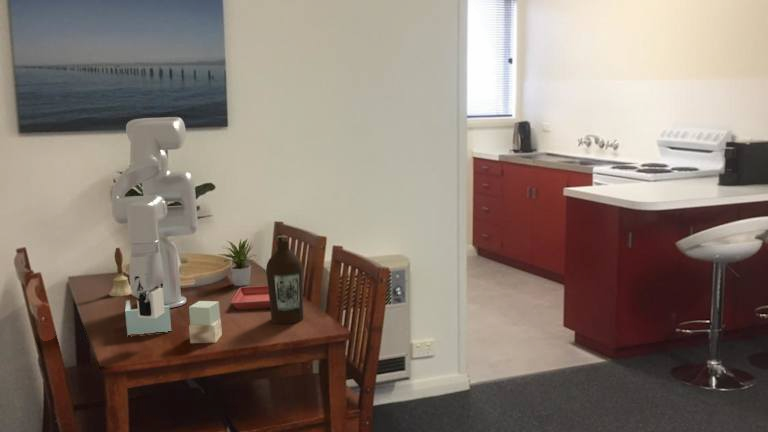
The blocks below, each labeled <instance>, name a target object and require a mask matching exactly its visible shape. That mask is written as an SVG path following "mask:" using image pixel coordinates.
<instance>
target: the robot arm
mask: <svg viewBox="0 0 768 432" xmlns="http://www.w3.org/2000/svg"><path fill="white" fill-rule="evenodd" d="M125 132H126V135H127V138H128V140H129V142H130V152H129V155H130V156H129V159H130V160H129V166H128V167H127V168H126V169H125V170H123V171H122V172H121V174H120V175H119V176H118V178H117V179H116V181H115V182H114V185H113V188H112V194H111V196H112V197H111V215H112V218H113V220H114V221H115V222H116V223H117V224H119V225H127V226H128V228H127V229H128V237H129V248H130V254H131V255H130V256H129V265H128V266H129V272H128V273H129V285H130V288H131V290H132V294H131V295H132V296H133V297H134V298H135V300H136V303H137V302H139V311H140V315H141V316H151V306H150V301H148V299H149V290H151V289H153V288H163V299H164V306H169V309H171V308H177V307H181V306H183V305H184V304H186V302H187V297H186V296H183V295H182V293H181V282H180V281H181V280H180V269H179V258H178V249H177V246H176V245H175V243H173V242H172V240H171V239H170V238H169V237H177V236H179V237H180V236H189V235H193V234H195V233H196V232H197V231H198V227H199V222H198V210H197V208H198V207H197V198H196V196H197V195H196V186H195V181H194V177H193V175H192V173H190V172H188V171H182V170H181V171H180V170H177V171H171V170H170V169H169V159H168V155H167V153H166V152H165V151H167V150H168V151H169V150H180V149H181V148H182V147H183V145H184V142H185V140H186V135H187V131H186V125H185V121H184V120H183V119H182V118H181V117H178V116H168V117H166V116H165V117H143V118H135V119H131V120H130V121H127V123H126V126H125ZM139 185H141V186H142V187H141V188H142V193H143V195H133V196H126V194H127V193H128V192H129V191H130V190H131V189H132V188H135V187H137V186H139ZM175 202H179V203H180V204H181V205H173V206H172V205H168V204H167V203H175ZM142 289H143V290H142ZM142 293H145V297H144V296H143V295H142Z"/></svg>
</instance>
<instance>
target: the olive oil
mask: <svg viewBox="0 0 768 432" xmlns="http://www.w3.org/2000/svg"><path fill="white" fill-rule="evenodd" d="M276 240H277V241H276V245H277V246H276V247H277V250H275V252H274V253H273V254H272V255H271V257H270V258H269V259H268V261H267V263H266V266H265V267H266V269H265V271H266V273H265V274H266V281H267V286H268V291H269V299H270V308H269V309H270V316H271V317H270V318H271V322H273V324H274V323H275V324H278V325H279V324H280V325H288V324H290V325H291V324H296V323H299V322H301V321H302V320H304V282H303V281H304V269H303V263H302V261H301V258H299V257H298V256H297V255H296V254H295V253H294V252H293V251H292V250H291V249H290V245H289V244H290V243H289V242H290V241H289V236H288V235H277V236H276Z"/></svg>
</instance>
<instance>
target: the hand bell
mask: <svg viewBox="0 0 768 432" xmlns="http://www.w3.org/2000/svg"><path fill="white" fill-rule="evenodd" d="M123 256H124V255H123V252H122V250H121V248H120V247H116V248H115V252H114V261H115V264H116V267H117V268H116V270H117V276H116V277H115V278H114V279H113V287H112V288H111V291H110V292H109V293H108V295H109V296H110V297H125V296H130V295H132V290H131V288H130V282H129V280H128V279H129V278H128V277H127V276H125V275H124V271H123V262H124V260H123V259H124V257H123Z"/></svg>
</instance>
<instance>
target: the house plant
mask: <svg viewBox="0 0 768 432" xmlns="http://www.w3.org/2000/svg"><path fill="white" fill-rule="evenodd" d="M248 240H249V238H245V240H243V242H242V239H240V240H239V244H238V248H237V246H236V245H235V243H233V242H231V241H228V240H226V242H228V243H229V245H230V246H231V248H230V247H228V246H227V247H226V246H224V245H222V248H224V249H226V250H227V251H228V253H218V254H217V255H218V256H224V257H221V258H224V259H223V260H222V263H226V262H228V261H229V262H232V263H233V265H232V266H230V273H231V276H232V281H233V285H234V286H236V287H245V286H248V285H249V284H250V277H251V267H252V266H251V265H250V264H247V262H248V260H249V259H250V258H251V257H253V256H254V257H255V256H256V254H254V255H253V254H252V255H251V256H248V254H249V252H250V251H252V248H253V247H254V245H252V242H251V243H250V241H248ZM249 244H250V245H249ZM251 245H252V246H251ZM229 258H230V259H229Z"/></svg>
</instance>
